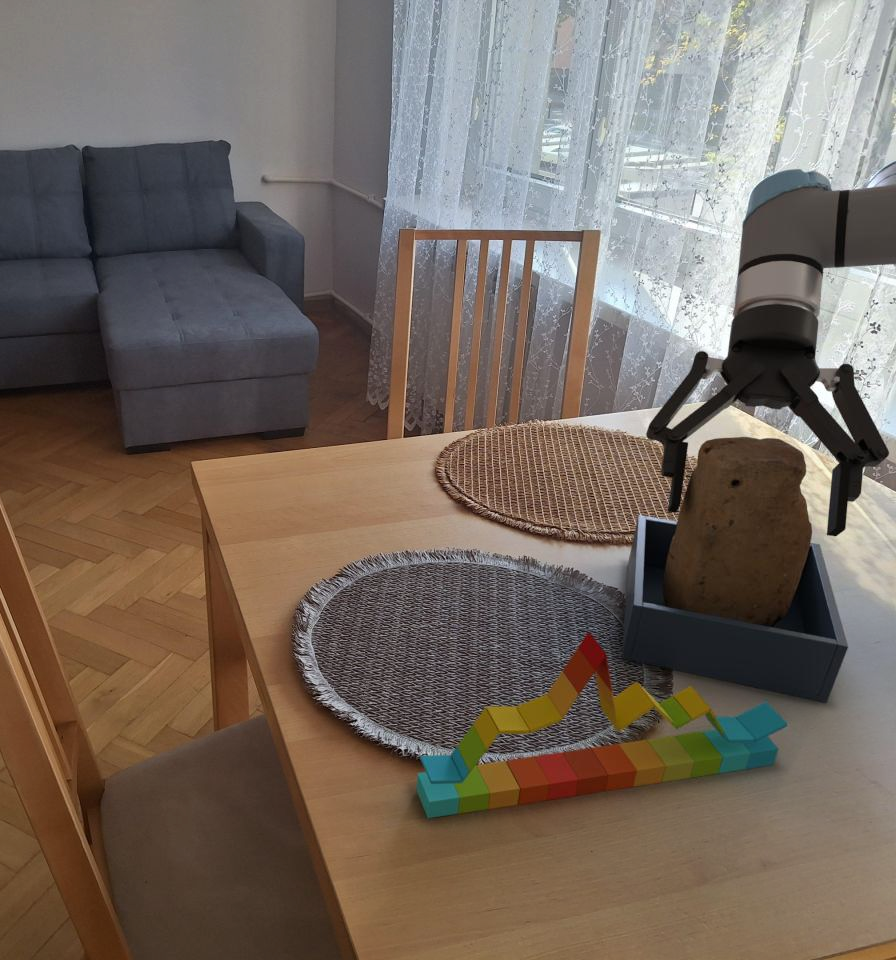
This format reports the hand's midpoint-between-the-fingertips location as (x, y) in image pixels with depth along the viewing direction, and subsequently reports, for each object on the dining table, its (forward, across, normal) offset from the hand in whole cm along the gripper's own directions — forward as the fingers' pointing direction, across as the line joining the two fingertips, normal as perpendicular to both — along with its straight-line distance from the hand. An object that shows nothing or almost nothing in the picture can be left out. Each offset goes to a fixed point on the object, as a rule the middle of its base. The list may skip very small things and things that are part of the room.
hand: (752, 520), depth 81 cm
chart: (+26, +11, +7) cm, 30 cm away
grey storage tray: (+9, 0, -10) cm, 14 cm away
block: (+8, 0, -10) cm, 13 cm away
